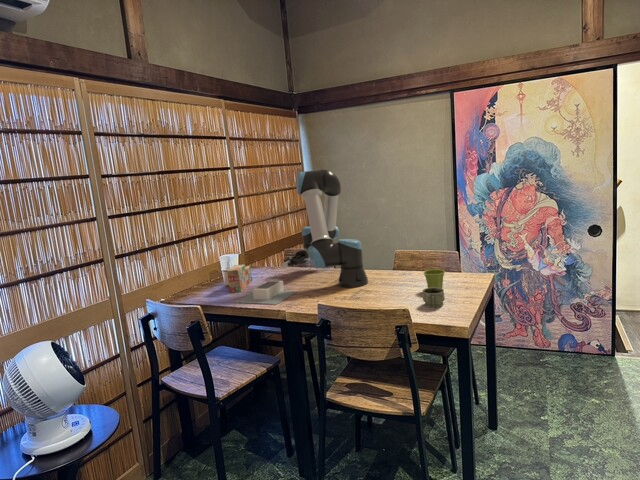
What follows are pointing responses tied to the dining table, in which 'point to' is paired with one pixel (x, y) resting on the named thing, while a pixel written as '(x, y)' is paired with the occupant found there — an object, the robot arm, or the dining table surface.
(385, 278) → the dining table surface
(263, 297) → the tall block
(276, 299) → the rubber mat
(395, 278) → the dining table surface
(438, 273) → the plant pot
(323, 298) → the dining table surface
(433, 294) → the vessel
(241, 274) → the multicoloured rectangular box
